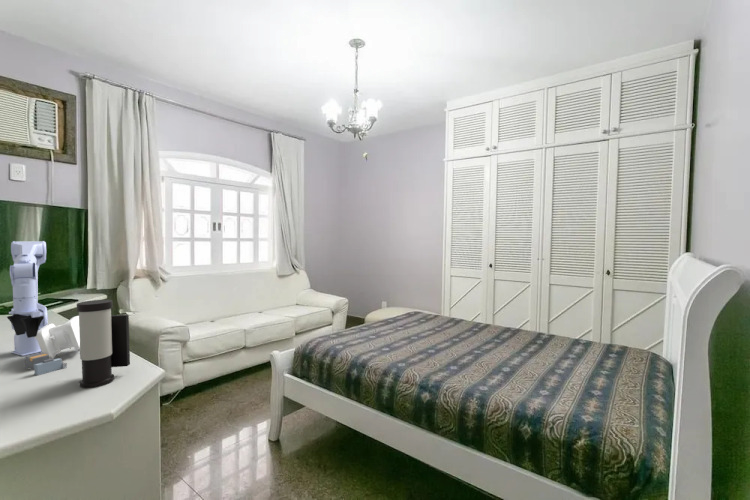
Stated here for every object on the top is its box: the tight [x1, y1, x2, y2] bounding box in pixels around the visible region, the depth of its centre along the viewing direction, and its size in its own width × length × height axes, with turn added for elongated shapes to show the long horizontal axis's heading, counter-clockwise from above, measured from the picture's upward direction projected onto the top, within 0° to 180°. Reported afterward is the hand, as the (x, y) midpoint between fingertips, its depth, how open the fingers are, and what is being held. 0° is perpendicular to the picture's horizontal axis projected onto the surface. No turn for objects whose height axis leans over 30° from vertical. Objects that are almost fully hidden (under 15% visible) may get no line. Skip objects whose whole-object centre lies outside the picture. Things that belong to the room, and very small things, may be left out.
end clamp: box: [33, 357, 63, 376], centre depth 115 cm, size 2×6×4 cm, turn 155°
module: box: [24, 352, 49, 371], centre depth 119 cm, size 6×4×4 cm
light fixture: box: [76, 299, 131, 389], centre depth 106 cm, size 12×11×25 cm
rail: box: [62, 361, 68, 369], centre depth 121 cm, size 18×1×2 cm, turn 65°
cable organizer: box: [35, 315, 80, 359], centre depth 130 cm, size 15×11×12 cm
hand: (26, 335), depth 122 cm, fingers open, 7 cm apart
